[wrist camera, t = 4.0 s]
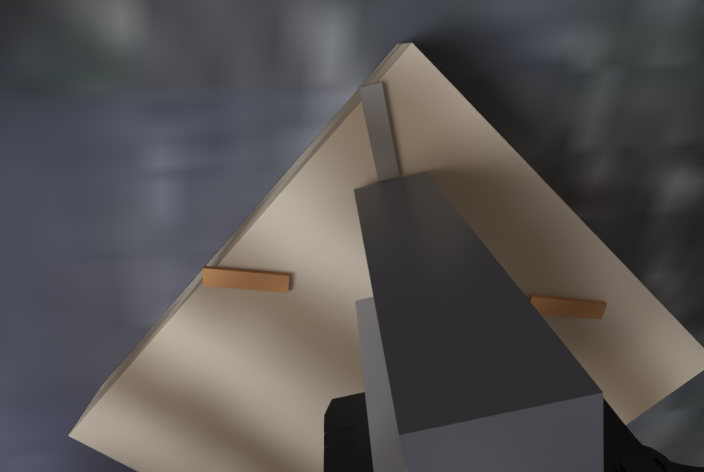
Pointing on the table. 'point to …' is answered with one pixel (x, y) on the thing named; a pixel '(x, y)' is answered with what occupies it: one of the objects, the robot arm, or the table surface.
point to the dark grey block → (469, 346)
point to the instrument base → (365, 292)
